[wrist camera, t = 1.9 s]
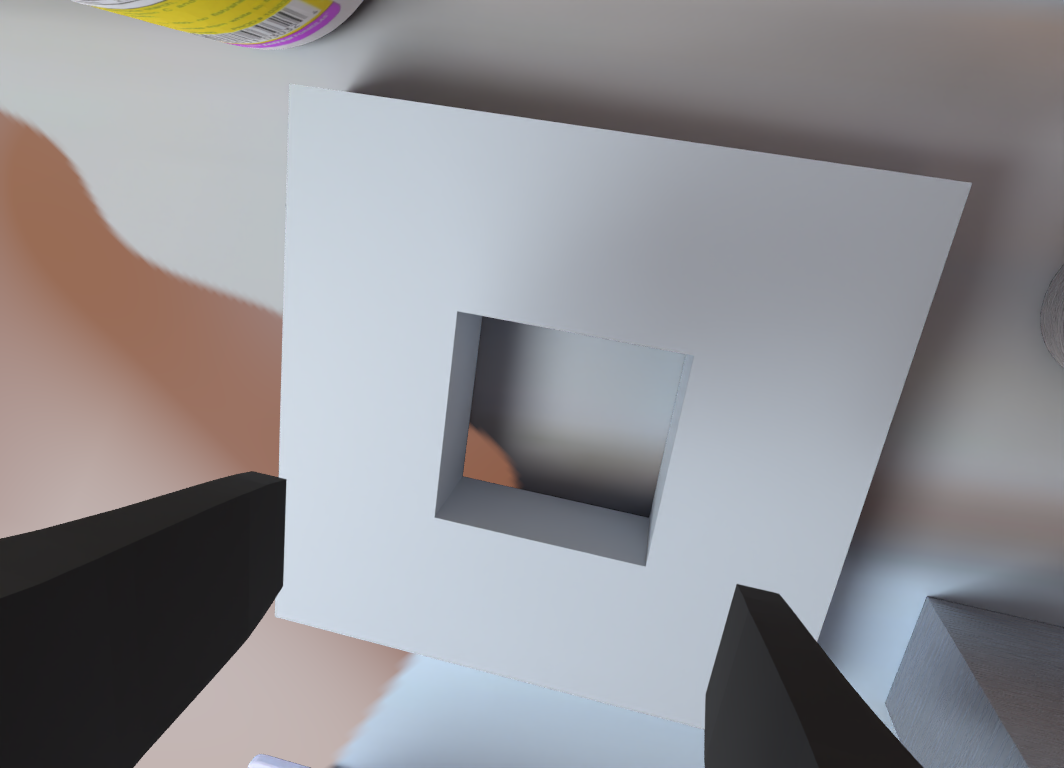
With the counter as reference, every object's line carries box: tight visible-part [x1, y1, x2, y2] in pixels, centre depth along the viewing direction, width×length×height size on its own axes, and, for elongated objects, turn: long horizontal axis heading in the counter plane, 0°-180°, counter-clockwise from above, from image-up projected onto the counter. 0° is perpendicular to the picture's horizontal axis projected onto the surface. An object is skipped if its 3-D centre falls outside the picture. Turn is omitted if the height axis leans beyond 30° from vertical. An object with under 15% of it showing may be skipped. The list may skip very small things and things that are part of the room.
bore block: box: [275, 83, 972, 730], centre depth 17 cm, size 14×14×2 cm
